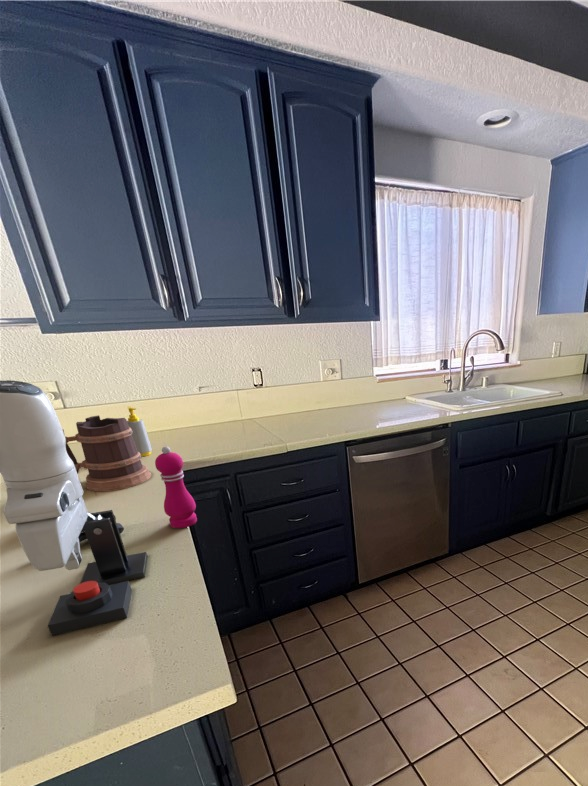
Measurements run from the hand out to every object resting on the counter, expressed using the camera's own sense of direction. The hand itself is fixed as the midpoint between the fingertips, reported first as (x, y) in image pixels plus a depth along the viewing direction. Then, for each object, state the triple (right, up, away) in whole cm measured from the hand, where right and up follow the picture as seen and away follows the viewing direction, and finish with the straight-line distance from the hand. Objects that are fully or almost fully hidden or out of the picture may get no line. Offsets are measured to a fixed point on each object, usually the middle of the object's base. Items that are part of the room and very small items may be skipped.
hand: (75, 565), depth 72 cm
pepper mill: (+1, +6, +36) cm, 37 cm away
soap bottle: (-40, +31, +91) cm, 105 cm away
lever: (-6, +8, +9) cm, 14 cm away
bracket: (-3, -3, +16) cm, 16 cm away
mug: (-35, +19, +65) cm, 76 cm away
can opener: (-18, +1, +27) cm, 32 cm away
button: (0, -6, +3) cm, 6 cm away
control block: (0, -9, +4) cm, 10 cm away
